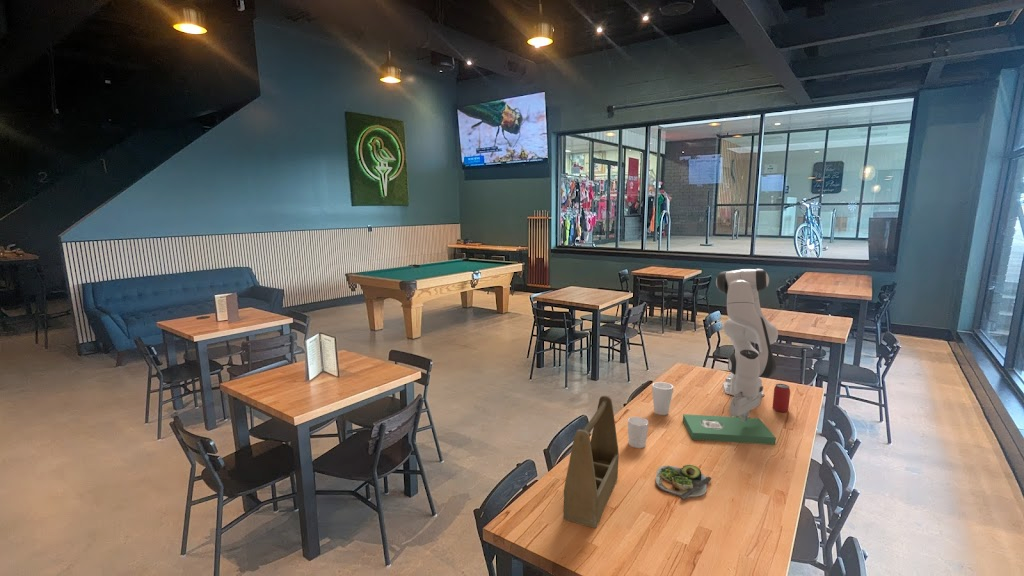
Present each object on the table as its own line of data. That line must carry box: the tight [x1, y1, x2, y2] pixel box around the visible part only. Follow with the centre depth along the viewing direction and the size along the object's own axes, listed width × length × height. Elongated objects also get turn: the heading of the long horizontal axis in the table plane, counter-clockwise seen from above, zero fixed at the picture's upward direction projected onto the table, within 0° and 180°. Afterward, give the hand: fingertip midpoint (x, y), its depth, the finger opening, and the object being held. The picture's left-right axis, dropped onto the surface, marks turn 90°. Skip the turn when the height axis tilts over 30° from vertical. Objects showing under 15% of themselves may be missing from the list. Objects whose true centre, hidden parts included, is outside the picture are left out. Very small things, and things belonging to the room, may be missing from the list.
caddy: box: [562, 395, 620, 529], centre depth 152 cm, size 29×11×30 cm, turn 155°
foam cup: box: [651, 381, 674, 416], centre depth 220 cm, size 10×9×13 cm
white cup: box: [627, 416, 649, 449], centre depth 190 cm, size 8×8×10 cm
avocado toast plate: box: [655, 464, 712, 500], centre depth 161 cm, size 19×18×5 cm
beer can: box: [772, 383, 791, 413], centre depth 222 cm, size 7×7×12 cm
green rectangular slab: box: [682, 413, 777, 445], centre depth 201 cm, size 18×32×3 cm, turn 82°
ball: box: [709, 422, 719, 427], centre depth 201 cm, size 4×4×4 cm
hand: (744, 420), depth 200 cm, fingers closed
